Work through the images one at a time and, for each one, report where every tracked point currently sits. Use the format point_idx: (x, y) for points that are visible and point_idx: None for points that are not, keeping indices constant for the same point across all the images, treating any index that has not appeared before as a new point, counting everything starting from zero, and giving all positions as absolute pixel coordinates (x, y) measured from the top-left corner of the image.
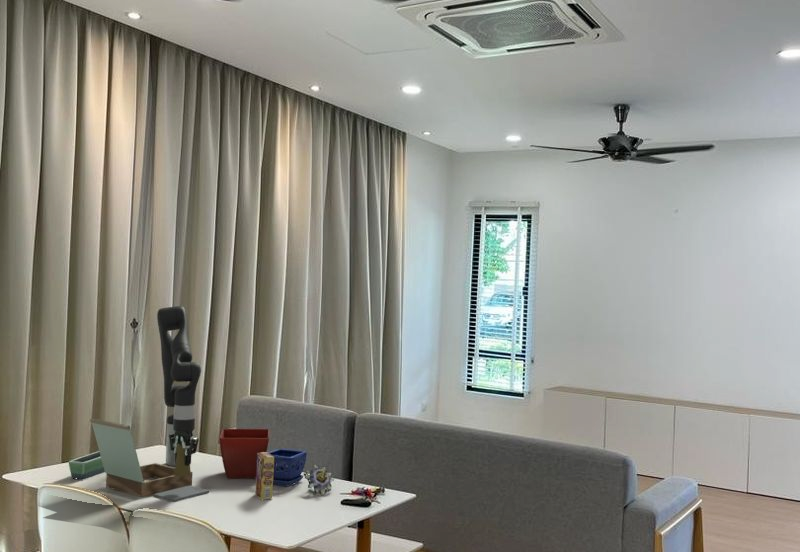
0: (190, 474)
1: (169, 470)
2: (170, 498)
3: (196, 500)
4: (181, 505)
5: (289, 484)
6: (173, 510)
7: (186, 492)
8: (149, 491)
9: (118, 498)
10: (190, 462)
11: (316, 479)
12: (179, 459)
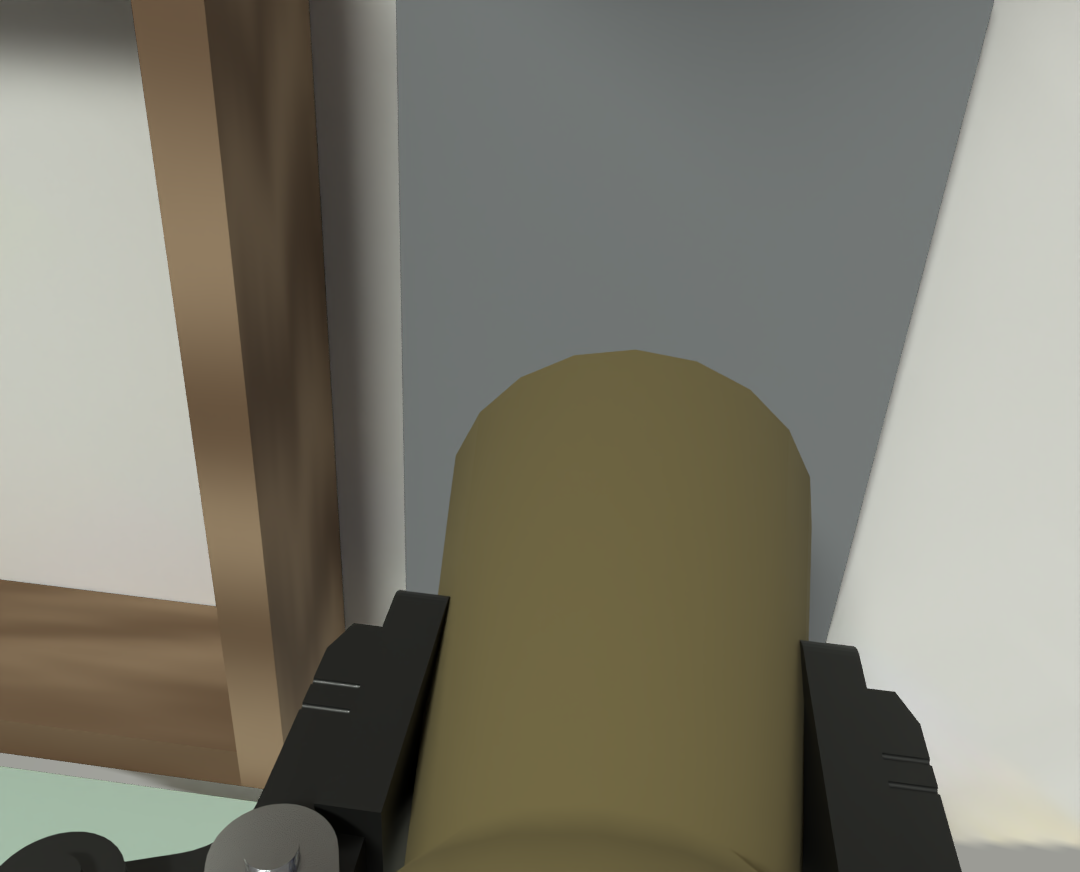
0: (796, 448)
1: None
2: None
3: (1064, 445)
4: (1011, 685)
5: None
6: (1048, 836)
7: (715, 321)
8: (327, 622)
9: (199, 783)
10: (914, 738)
11: None
12: None
